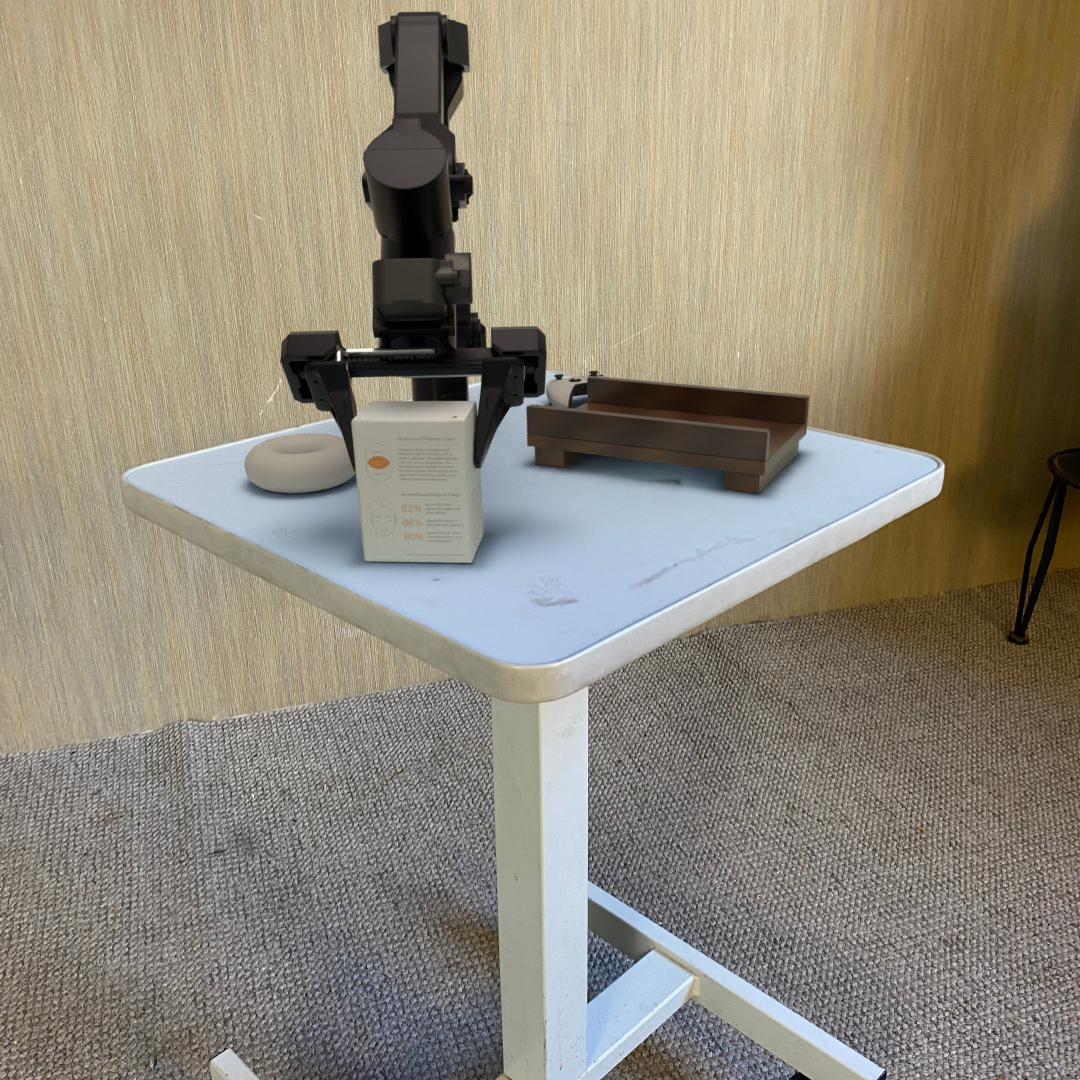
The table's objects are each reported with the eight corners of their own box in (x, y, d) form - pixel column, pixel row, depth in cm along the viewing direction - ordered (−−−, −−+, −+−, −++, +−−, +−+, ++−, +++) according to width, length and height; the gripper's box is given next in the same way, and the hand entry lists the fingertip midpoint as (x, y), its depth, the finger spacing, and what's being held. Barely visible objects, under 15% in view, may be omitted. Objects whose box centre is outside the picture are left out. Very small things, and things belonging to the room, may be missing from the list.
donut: (317, 506, 86) (383, 470, 95) (313, 466, 85) (380, 433, 94) (222, 491, 90) (293, 458, 99) (216, 453, 89) (289, 423, 98)
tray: (527, 465, 96) (526, 406, 94) (591, 428, 107) (591, 375, 105) (763, 496, 86) (767, 432, 84) (805, 453, 98) (809, 395, 96)
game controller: (562, 408, 111) (543, 362, 113) (546, 435, 116) (528, 390, 118) (639, 397, 115) (619, 353, 117) (621, 423, 120) (602, 380, 122)
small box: (485, 536, 79) (479, 399, 75) (473, 565, 74) (467, 419, 70) (380, 534, 79) (370, 398, 76) (361, 562, 74) (349, 418, 70)
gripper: (270, 213, 71) (254, 410, 65) (543, 208, 72) (554, 403, 66) (301, 312, 82) (290, 491, 75) (540, 307, 82) (549, 484, 76)
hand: (416, 467), depth 73 cm, fingers closed on small box, 8 cm apart
